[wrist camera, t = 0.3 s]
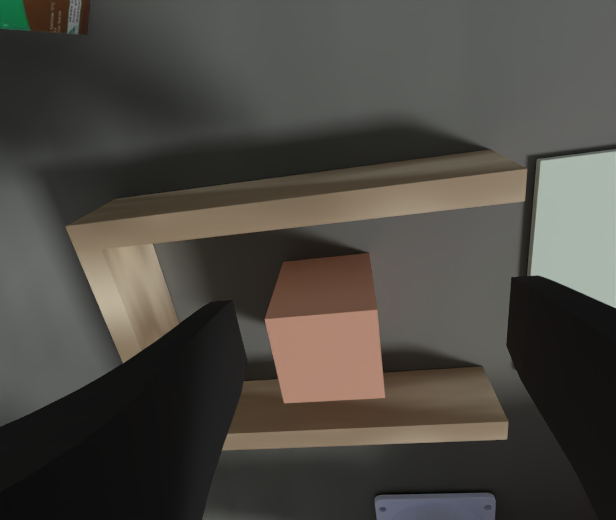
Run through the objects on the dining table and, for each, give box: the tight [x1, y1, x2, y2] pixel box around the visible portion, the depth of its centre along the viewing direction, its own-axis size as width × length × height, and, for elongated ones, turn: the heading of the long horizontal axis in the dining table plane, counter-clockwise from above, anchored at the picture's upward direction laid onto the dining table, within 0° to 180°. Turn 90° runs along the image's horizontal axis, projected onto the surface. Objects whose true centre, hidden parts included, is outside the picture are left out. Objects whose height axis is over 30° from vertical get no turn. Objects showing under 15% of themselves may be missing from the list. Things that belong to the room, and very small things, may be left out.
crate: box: [65, 149, 527, 450], centre depth 20 cm, size 13×18×4 cm
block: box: [265, 253, 385, 403], centre depth 19 cm, size 4×4×6 cm
